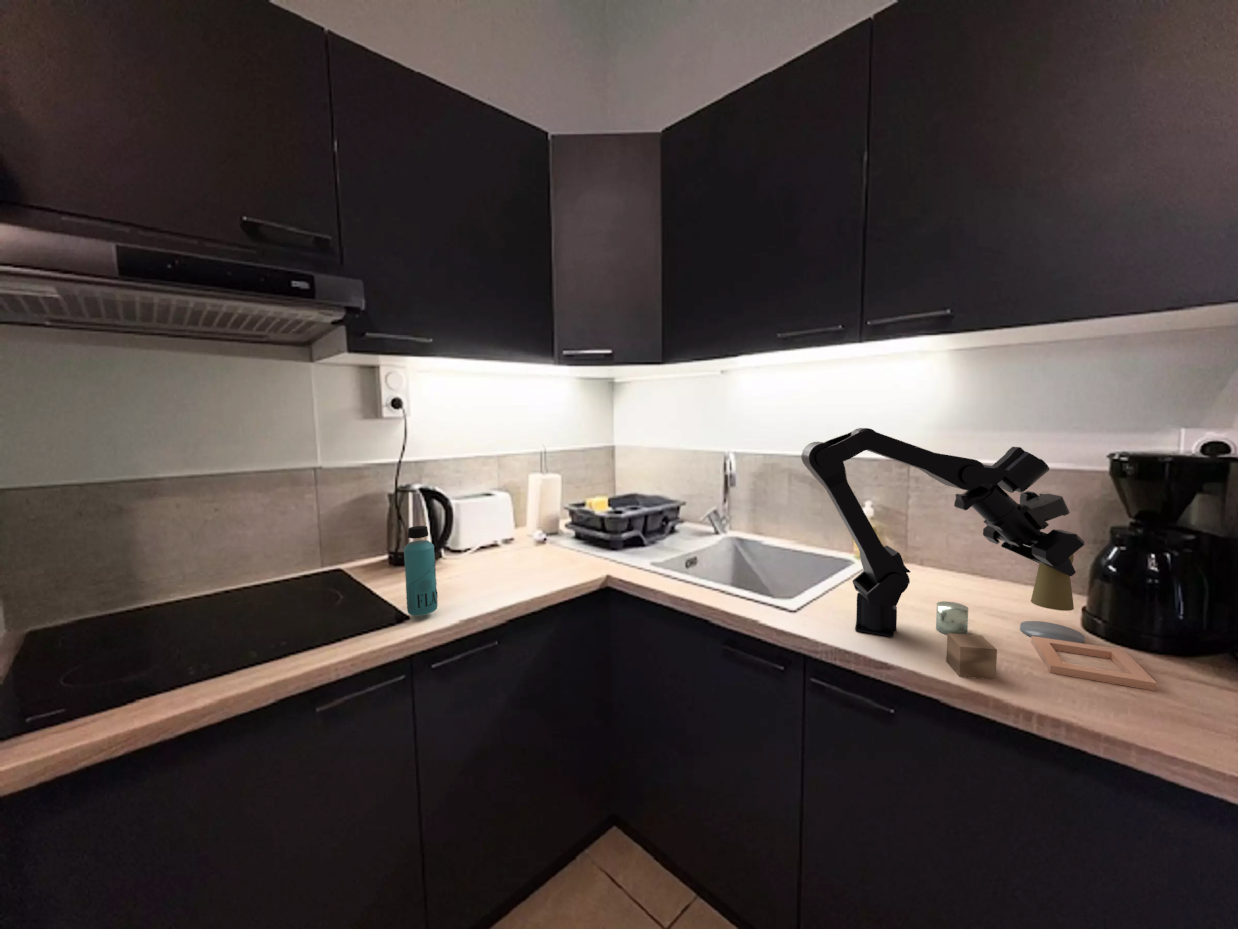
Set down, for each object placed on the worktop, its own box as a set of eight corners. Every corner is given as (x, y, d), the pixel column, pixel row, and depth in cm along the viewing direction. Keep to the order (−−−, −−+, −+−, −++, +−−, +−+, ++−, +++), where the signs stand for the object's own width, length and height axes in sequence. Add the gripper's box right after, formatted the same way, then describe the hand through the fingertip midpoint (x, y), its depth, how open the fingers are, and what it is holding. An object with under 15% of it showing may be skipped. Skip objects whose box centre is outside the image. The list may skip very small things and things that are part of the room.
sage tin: (937, 634, 92) (937, 608, 92) (934, 624, 97) (935, 599, 96) (969, 639, 90) (970, 612, 90) (965, 629, 94) (966, 603, 94)
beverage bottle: (415, 625, 102) (409, 531, 101) (401, 617, 107) (395, 527, 105) (444, 615, 107) (439, 526, 105) (430, 608, 111) (425, 522, 110)
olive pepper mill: (1022, 599, 93) (1024, 542, 92) (1052, 598, 93) (1055, 542, 93) (1050, 611, 87) (1054, 550, 86) (1083, 610, 87) (1087, 550, 87)
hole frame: (1050, 672, 78) (1050, 665, 77) (1031, 642, 88) (1031, 636, 88) (1156, 691, 72) (1156, 683, 72) (1122, 656, 82) (1122, 649, 82)
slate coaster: (1026, 639, 89) (1026, 635, 89) (1014, 621, 97) (1015, 617, 97) (1092, 649, 85) (1092, 645, 85) (1074, 630, 93) (1075, 626, 93)
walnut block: (959, 676, 77) (960, 646, 77) (946, 661, 82) (947, 633, 82) (995, 680, 76) (997, 649, 76) (980, 664, 81) (981, 635, 80)
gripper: (1075, 486, 80) (1146, 554, 79) (1002, 474, 98) (1060, 529, 98) (1019, 532, 82) (1088, 599, 81) (958, 512, 100) (1014, 566, 99)
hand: (1061, 569), depth 90 cm, fingers closed on olive pepper mill, 5 cm apart
